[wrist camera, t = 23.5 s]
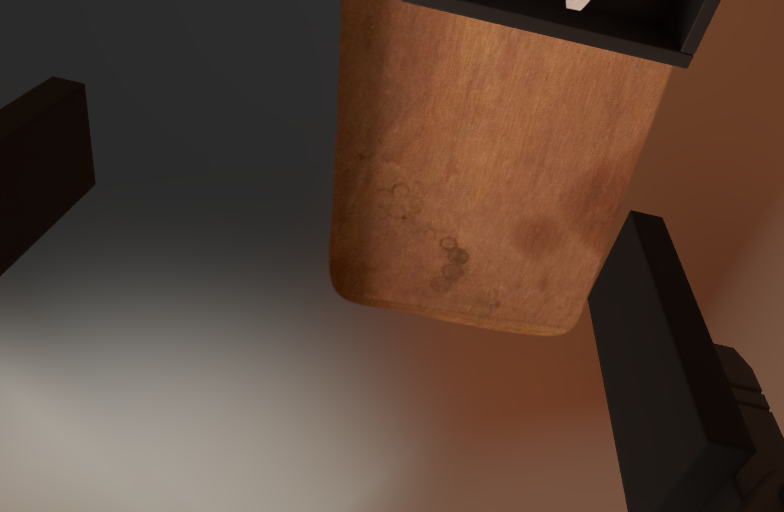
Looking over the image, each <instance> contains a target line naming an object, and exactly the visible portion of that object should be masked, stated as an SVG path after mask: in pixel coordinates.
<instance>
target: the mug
mask: <svg viewBox="0 0 784 512" xmlns="http://www.w3.org/2000/svg"><path fill="white" fill-rule="evenodd" d="M589 1H590V0H566V8H569V9H574V10H579V11H581V10H582V9H583V8H584V7H585V5H586V4H587V3H588V2H589Z"/></svg>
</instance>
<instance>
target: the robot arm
mask: <svg viewBox="0 0 784 512" xmlns="http://www.w3.org/2000/svg"><path fill="white" fill-rule="evenodd" d="M95 184H96V183H95V174H94V166H93V157H92V147H91V138H90V129H89V120H88V111H87V101H86V92H85V84H82V83H79V82H75V81H70V80H66V79H62V78H57V77H51V78H49V79H48V80H46V81H45V82H43V83H41V84H40V85H38V86H36V87H35V88H33V89H32V90H30V91H28V92H27V93H25V94H24V95H22V96H20V97H19V98H17V99H16V100H14V101H12V102H11V103H9V104H8V105H6V106H4V107H3V108H1V109H0V276H1V275H2V274H3V273H4V272H5V271H6V270H7V269H8V268H9V267H10V266H11V265H12V264H13V263H14V262H16V261H17V260H18V259H19V257H21V256H22V255H23V254H24V253H25V252H26V251H27V250H28V249H29V248H30V247H31V246H32V245H33V244H34V243H35V242H36V241H37V240H38V239H39V238H40V237H41V236H42V235H43V234H45V233H46V232H47V231H48V229H50V228H51V227H52V226H53V225H54V224H55V223H56V222H57V221H58V220H59V219H60V218H61V217H62V216H63V215H64V214H65V213H66V212H67V211H68V210H69V209H70V208H71V207H72V206H73V205H75V204H76V202H77V201H79V200H80V199H81V198H82V197H83V196H84V195H85V194H86V193H87V192H88V191H89V190H90V189H91V188H92V187H93V186H94V185H95ZM588 303H589V308H590V313H591V319H592V324H593V329H594V335H595V340H596V345H597V350H598V356H599V361H600V366H601V372H602V377H603V382H604V387H605V392H606V398H607V403H608V409H609V414H610V419H611V424H612V430H613V435H614V440H615V445H616V451H617V456H618V461H619V467H620V472H621V477H622V483H623V488H624V493H625V498H626V504H627V509H628V512H784V438H783V436H782V434H781V431H780V429H779V427H778V425H777V422H776V420H775V418H774V416H773V414H772V412H769V409H770V407H769V405H768V403H767V401H766V399H765V396H764V395H763V394H761V391H762V389H761V387H760V385H759V383H758V381H757V379H756V376H755V374H754V372H753V370H752V368H751V367H750V366H749V365H748V364H747V363H746V361H745V360H744V359H743V358H742V357H741V356H740V355H739V354H738V352H737V351H736V350H735V349H734V348H731V347H727V346H723V345H718V344H714V343H713V342H712V339H711V337H710V334H709V332H708V329H707V327H706V325H705V322H704V319H703V317H702V314H701V312H700V310H699V307H698V305H697V302H696V300H695V297H694V295H693V292H692V290H691V287H690V285H689V282H688V280H687V278H686V275H685V272H684V270H683V267H682V265H681V263H680V260H679V258H678V255H677V253H676V250H675V248H674V246H673V243H672V240H671V238H670V236H669V233H668V230H667V228H666V225H665V223H664V221H663V218H662V217H658V216H653V215H649V214H645V213H640V212H636V211H630V213H629V215H628V217H627V219H626V221H625V223H624V225H623V227H622V229H621V231H620V233H619V235H618V237H617V239H616V241H615V243H614V245H613V247H612V249H611V251H610V253H609V255H608V257H607V259H606V261H605V263H604V265H603V267H602V269H601V271H600V273H599V276H598V278H597V279H596V281H595V283H594V285H593V288H592V290H591V292H590V294H589V296H588Z"/></svg>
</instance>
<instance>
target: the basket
mask: <svg viewBox="0 0 784 512" xmlns="http://www.w3.org/2000/svg"><path fill="white" fill-rule="evenodd" d="M401 1H403V2H407V3H411V4H415V5H419V6H424V7H428V8H432V9H436V10H440V11H445V12H449V13H453V14H457V15H462V16H466V17H470V18H474V19H479V20H483V21H487V22H491V23H495V24H500V25H504V26H508V27H512V28H517V29H521V30H525V31H529V32H533V33H538V34H542V35H546V36H550V37H555V38H559V39H563V40H567V41H571V42H576V43H580V44H584V45H588V46H593V47H597V48H601V49H605V50H609V51H614V52H618V53H622V54H626V55H631V56H635V57H639V58H643V59H648V60H652V61H656V62H660V63H664V64H669V65H673V66H678V67H682V68H688V66H689V64H690V62H691V60H692V58H693V54H695V51H696V50H697V48H698V46H699V44H700V41H701V40H702V38H703V35H704V33H705V31H706V29H707V27H708V25H709V23H710V21H711V19H712V17H713V15H714V13H715V11H716V8H717V7H718V5H719V3H720V0H590V1H589V2H588V3H587V4H586V5H585V7H584V8H583V9H582V10H581V11H579V10H574V9H569V8H566V0H401Z"/></svg>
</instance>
